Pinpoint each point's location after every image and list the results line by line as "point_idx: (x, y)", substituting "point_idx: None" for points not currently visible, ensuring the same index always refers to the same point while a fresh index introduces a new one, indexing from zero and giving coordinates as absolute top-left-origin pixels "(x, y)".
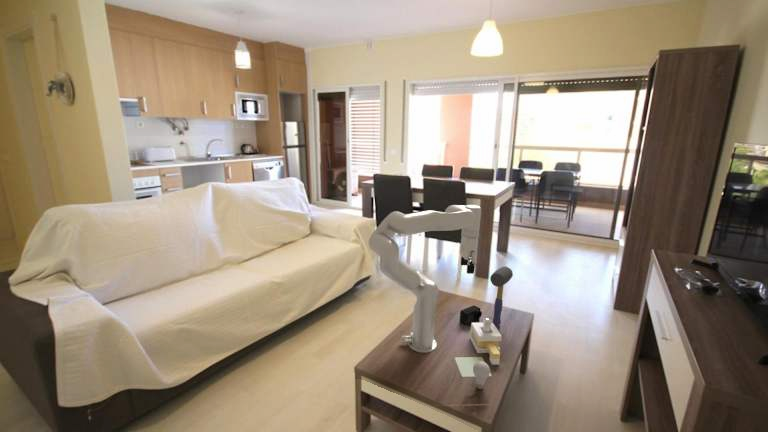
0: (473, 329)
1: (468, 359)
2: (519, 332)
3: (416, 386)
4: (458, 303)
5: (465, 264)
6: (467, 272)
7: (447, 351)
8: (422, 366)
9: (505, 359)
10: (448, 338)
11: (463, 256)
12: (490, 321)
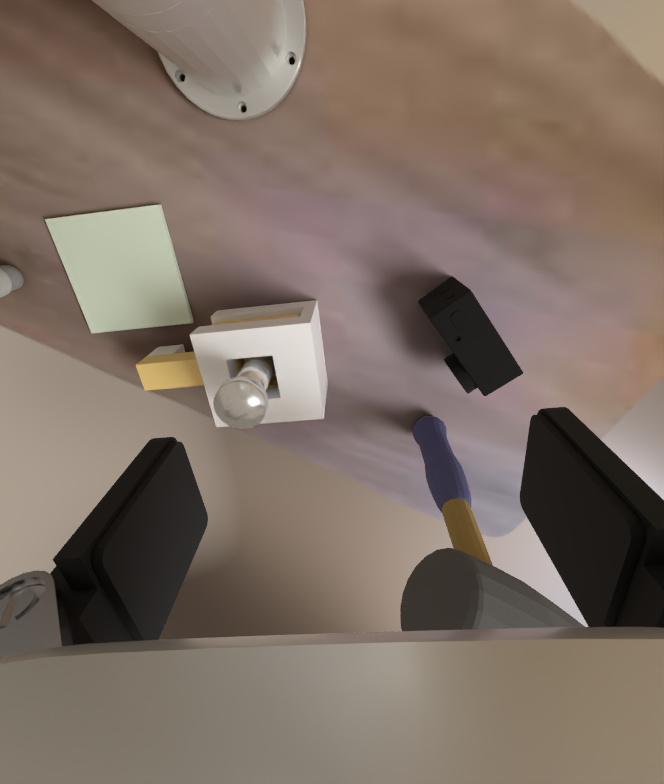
0: (274, 322)
1: (162, 265)
2: (378, 483)
3: None
4: (645, 303)
5: (527, 483)
6: (149, 451)
7: (205, 177)
8: (52, 20)
9: (207, 399)
10: (310, 197)
11: (98, 723)
12: (216, 413)
